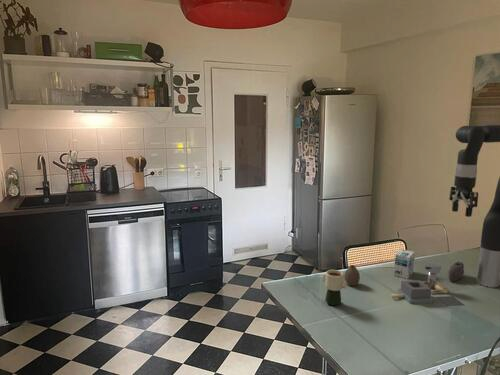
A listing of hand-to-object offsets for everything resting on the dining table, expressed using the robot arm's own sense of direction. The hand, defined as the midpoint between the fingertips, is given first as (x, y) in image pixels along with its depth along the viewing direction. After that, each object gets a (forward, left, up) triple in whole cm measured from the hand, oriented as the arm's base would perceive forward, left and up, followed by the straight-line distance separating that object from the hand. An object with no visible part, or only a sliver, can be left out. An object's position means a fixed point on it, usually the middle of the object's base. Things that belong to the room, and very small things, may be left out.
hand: (461, 213), depth 154 cm
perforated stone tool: (-12, -16, -36) cm, 41 cm away
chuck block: (+20, +2, -36) cm, 41 cm away
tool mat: (+5, +6, -36) cm, 37 cm away
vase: (+40, -13, -36) cm, 55 cm away
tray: (+5, -6, -36) cm, 37 cm away
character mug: (+54, +4, -36) cm, 65 cm away
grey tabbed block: (+6, -6, -35) cm, 36 cm away
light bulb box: (+10, -23, -36) cm, 44 cm away
